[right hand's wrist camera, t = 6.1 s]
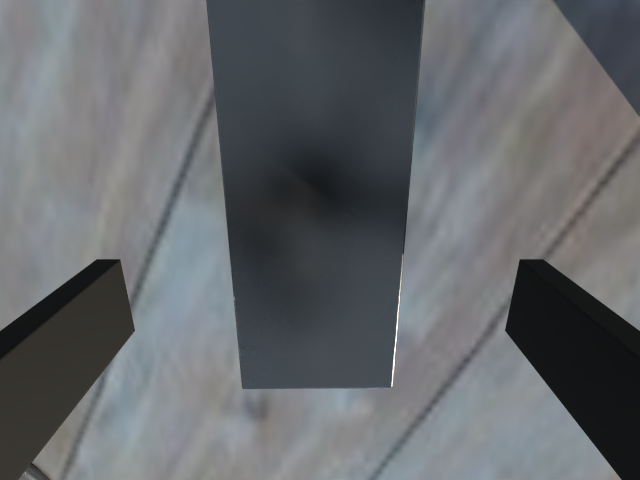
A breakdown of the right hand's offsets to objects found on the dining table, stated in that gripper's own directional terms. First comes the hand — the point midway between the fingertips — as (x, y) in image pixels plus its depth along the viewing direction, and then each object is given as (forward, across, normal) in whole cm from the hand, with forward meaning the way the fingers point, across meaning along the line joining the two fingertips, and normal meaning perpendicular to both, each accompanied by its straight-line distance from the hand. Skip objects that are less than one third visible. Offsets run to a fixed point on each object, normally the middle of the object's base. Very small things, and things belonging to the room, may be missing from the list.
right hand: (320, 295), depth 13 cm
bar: (+9, 0, -10) cm, 14 cm away
